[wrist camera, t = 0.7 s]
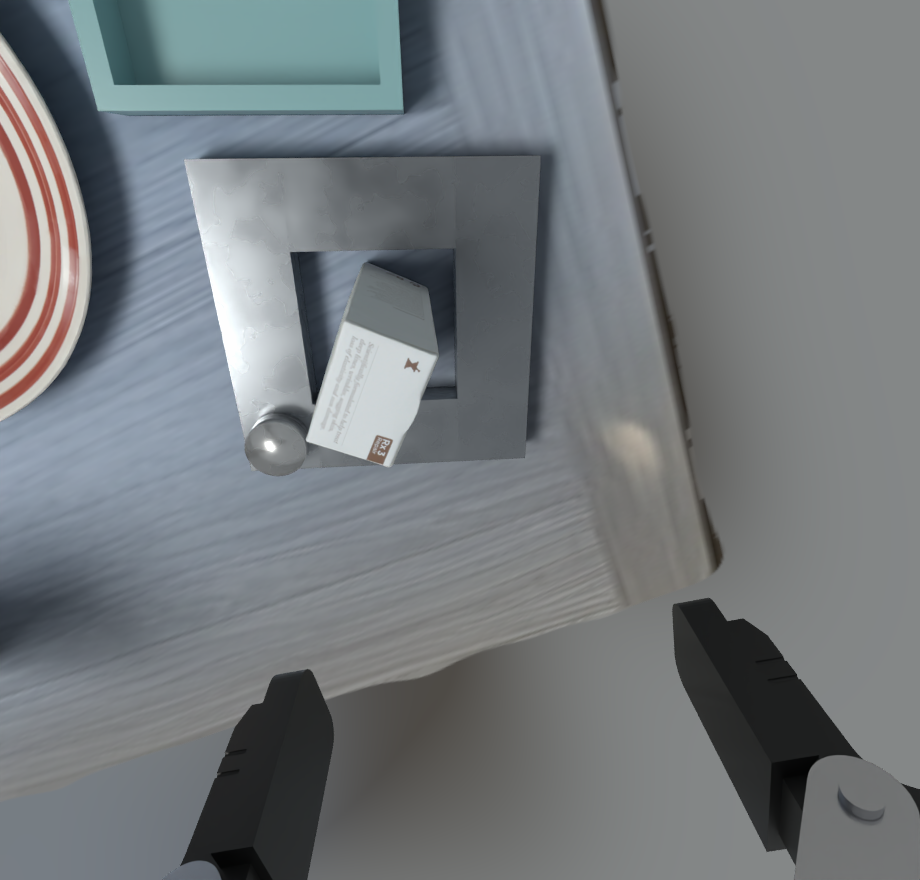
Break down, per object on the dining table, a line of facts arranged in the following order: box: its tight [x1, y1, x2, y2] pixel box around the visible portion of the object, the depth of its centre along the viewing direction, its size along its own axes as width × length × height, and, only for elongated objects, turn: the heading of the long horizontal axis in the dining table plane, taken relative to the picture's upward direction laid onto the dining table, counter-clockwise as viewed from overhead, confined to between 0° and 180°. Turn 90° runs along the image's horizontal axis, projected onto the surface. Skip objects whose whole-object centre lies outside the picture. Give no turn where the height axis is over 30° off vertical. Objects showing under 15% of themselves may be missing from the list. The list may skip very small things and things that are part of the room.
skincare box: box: [306, 262, 439, 467], centre depth 28 cm, size 6×4×12 cm
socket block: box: [184, 156, 541, 476], centre depth 32 cm, size 18×18×4 cm
